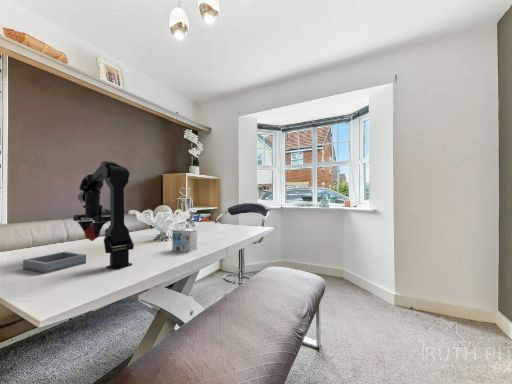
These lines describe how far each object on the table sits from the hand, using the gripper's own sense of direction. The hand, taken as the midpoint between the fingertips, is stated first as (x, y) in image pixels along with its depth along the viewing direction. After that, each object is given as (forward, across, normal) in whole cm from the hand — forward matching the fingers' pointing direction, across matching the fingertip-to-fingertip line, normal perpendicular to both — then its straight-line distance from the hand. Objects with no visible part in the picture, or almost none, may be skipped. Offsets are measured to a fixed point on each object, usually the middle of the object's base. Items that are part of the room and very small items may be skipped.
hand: (92, 236), depth 108 cm
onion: (+2, 0, 0) cm, 2 cm away
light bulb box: (+9, -33, -25) cm, 42 cm away
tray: (+9, -3, +16) cm, 19 cm away
